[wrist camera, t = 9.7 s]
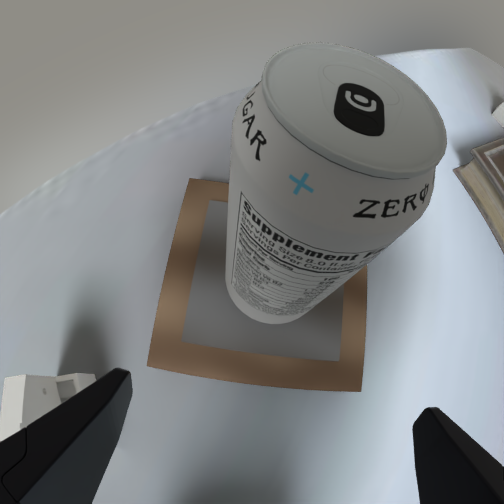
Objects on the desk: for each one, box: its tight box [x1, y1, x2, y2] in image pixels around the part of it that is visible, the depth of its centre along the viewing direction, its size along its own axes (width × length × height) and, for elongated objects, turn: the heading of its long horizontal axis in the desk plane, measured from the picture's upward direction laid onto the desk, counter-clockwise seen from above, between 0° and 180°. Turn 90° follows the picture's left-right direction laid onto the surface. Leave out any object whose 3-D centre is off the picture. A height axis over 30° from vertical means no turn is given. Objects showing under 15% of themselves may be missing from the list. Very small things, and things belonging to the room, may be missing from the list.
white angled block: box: [0, 373, 116, 448], centre depth 14 cm, size 4×10×9 cm, turn 18°
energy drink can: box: [225, 43, 447, 324], centre depth 13 cm, size 6×6×15 cm
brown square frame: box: [147, 178, 367, 392], centre depth 22 cm, size 14×14×3 cm
